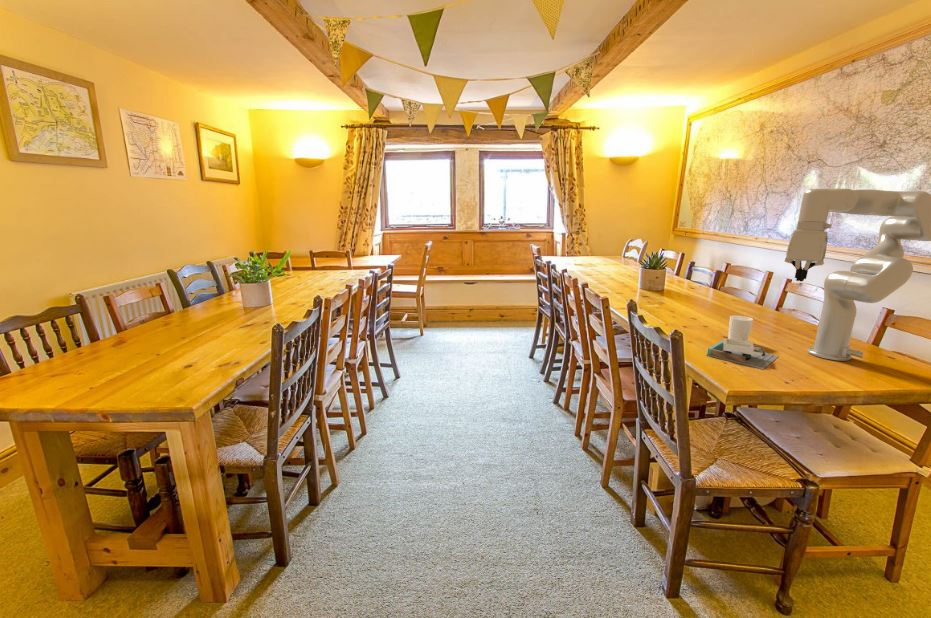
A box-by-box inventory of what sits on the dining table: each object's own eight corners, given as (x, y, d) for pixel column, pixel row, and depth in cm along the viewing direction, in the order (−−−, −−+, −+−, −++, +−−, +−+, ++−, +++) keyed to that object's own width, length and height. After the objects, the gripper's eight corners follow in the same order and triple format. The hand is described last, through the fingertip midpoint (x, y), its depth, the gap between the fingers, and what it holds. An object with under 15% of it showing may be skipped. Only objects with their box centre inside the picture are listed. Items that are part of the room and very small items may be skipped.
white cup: (752, 345, 170) (756, 321, 168) (730, 343, 172) (734, 319, 169) (743, 339, 178) (748, 316, 175) (723, 337, 179) (727, 314, 177)
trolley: (762, 356, 156) (764, 343, 155) (764, 363, 149) (766, 350, 148) (721, 350, 162) (724, 338, 161) (722, 357, 155) (724, 344, 154)
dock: (778, 356, 158) (779, 350, 157) (763, 369, 146) (764, 362, 145) (724, 344, 171) (725, 338, 170) (706, 355, 158) (707, 348, 158)
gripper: (841, 227, 141) (829, 282, 145) (786, 225, 151) (777, 276, 156) (837, 228, 136) (825, 285, 140) (781, 226, 147) (771, 279, 151)
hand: (799, 280), depth 148 cm, fingers closed
